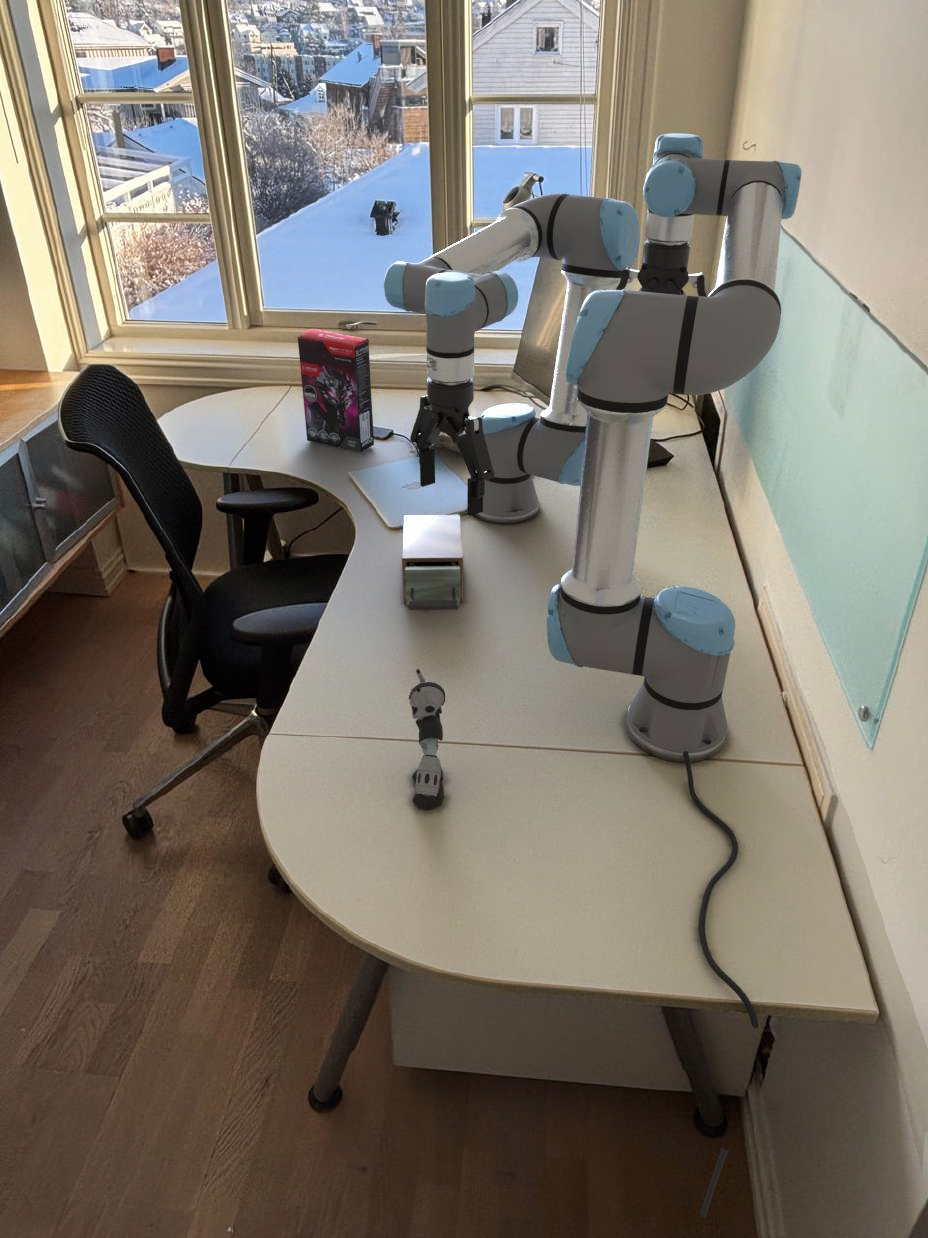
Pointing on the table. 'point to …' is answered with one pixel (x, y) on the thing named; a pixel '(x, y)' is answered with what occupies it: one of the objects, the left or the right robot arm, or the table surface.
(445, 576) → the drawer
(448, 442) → the stone
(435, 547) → the cabinet
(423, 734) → the robot
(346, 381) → the graphics card box
